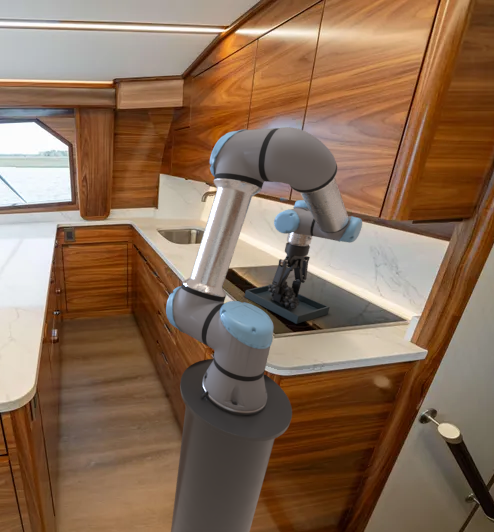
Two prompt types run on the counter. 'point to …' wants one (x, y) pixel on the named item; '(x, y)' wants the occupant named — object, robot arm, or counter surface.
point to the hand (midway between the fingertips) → (285, 298)
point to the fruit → (285, 296)
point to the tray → (300, 314)
